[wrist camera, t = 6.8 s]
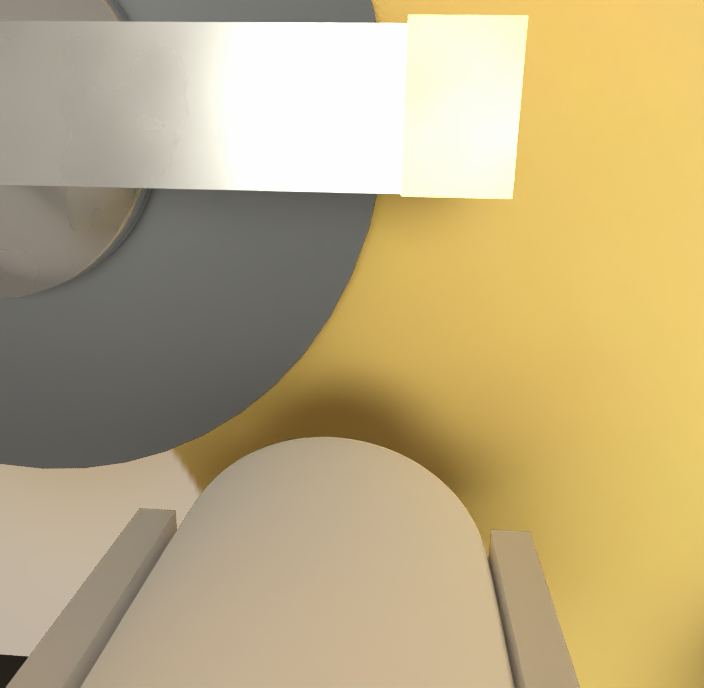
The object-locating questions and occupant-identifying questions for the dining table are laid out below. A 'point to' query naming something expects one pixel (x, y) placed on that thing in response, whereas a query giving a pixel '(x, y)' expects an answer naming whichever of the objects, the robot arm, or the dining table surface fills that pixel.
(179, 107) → the dial
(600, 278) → the dining table surface
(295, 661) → the can
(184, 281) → the dial plate
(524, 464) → the dining table surface
